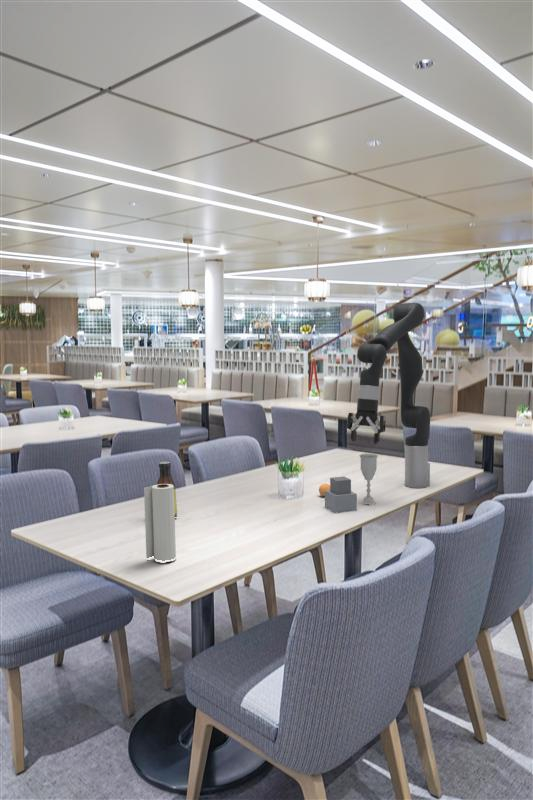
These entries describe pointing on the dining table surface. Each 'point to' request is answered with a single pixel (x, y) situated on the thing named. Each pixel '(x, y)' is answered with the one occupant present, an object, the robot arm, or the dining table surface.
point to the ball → (324, 489)
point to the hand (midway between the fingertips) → (364, 442)
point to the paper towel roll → (160, 521)
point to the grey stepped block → (340, 495)
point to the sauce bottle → (167, 479)
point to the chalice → (368, 473)
